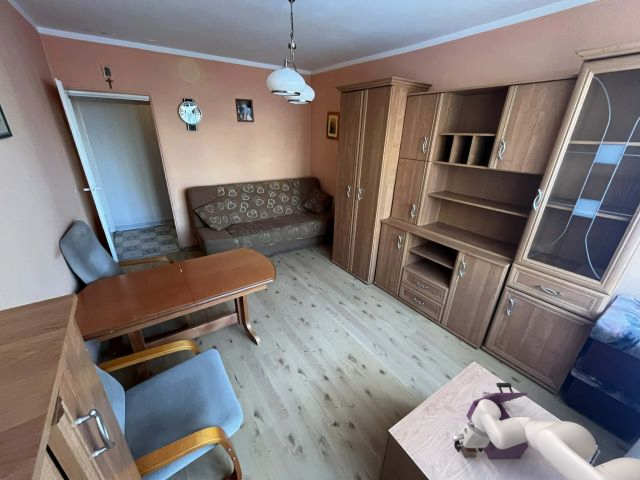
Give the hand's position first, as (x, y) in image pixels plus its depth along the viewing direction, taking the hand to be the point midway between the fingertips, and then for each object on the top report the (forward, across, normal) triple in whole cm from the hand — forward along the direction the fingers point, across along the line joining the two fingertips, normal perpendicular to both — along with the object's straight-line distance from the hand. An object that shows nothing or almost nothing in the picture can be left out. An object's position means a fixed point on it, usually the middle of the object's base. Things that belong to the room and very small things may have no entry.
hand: (467, 448), depth 113 cm
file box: (+2, +15, +6) cm, 16 cm away
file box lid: (-17, +15, +11) cm, 25 cm away
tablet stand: (+2, +26, +21) cm, 33 cm away
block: (+2, 0, 0) cm, 2 cm away
